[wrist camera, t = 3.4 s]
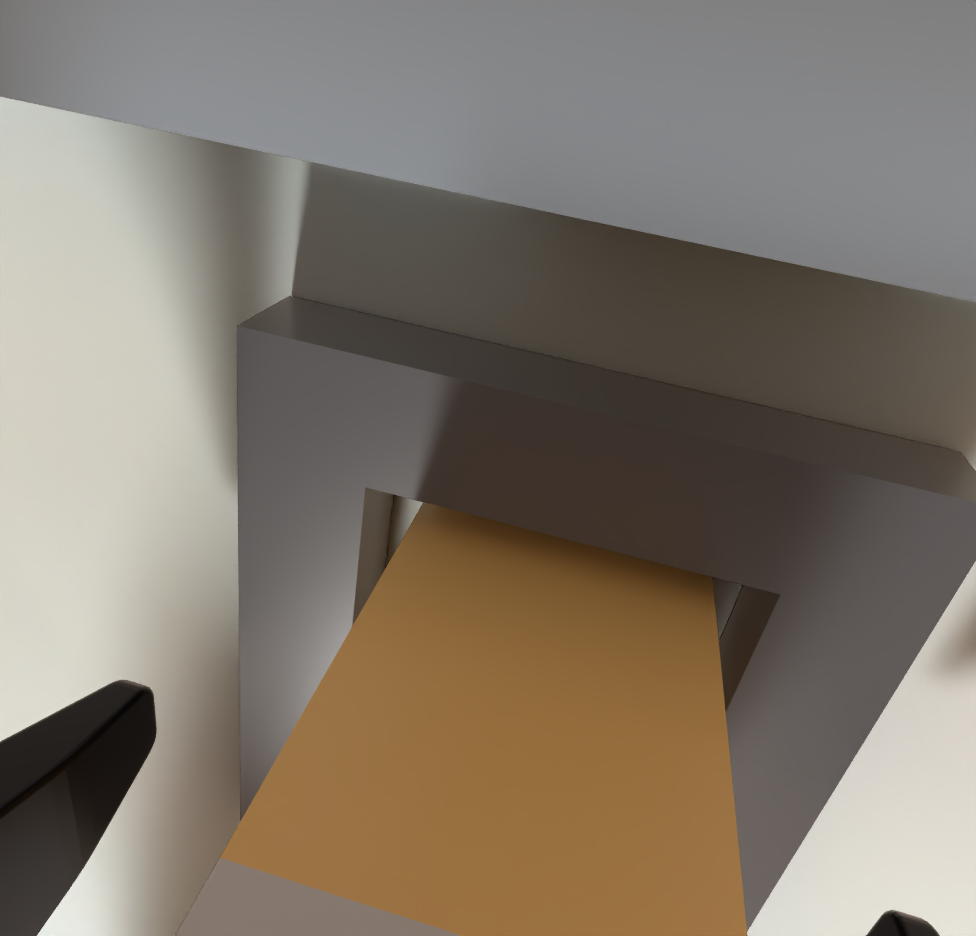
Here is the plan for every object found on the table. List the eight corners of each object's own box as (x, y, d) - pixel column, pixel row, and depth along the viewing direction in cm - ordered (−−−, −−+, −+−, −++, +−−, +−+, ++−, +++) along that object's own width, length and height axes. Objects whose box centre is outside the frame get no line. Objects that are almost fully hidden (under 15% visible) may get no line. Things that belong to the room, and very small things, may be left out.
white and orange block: (390, 785, 12) (188, 1303, 7) (435, 481, 9) (144, 988, 4) (595, 846, 12) (541, 1441, 7) (710, 551, 9) (773, 1207, 4)
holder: (273, 828, 13) (240, 891, 12) (289, 296, 8) (235, 325, 7) (681, 956, 13) (682, 1035, 12) (961, 451, 8) (1006, 509, 7)
